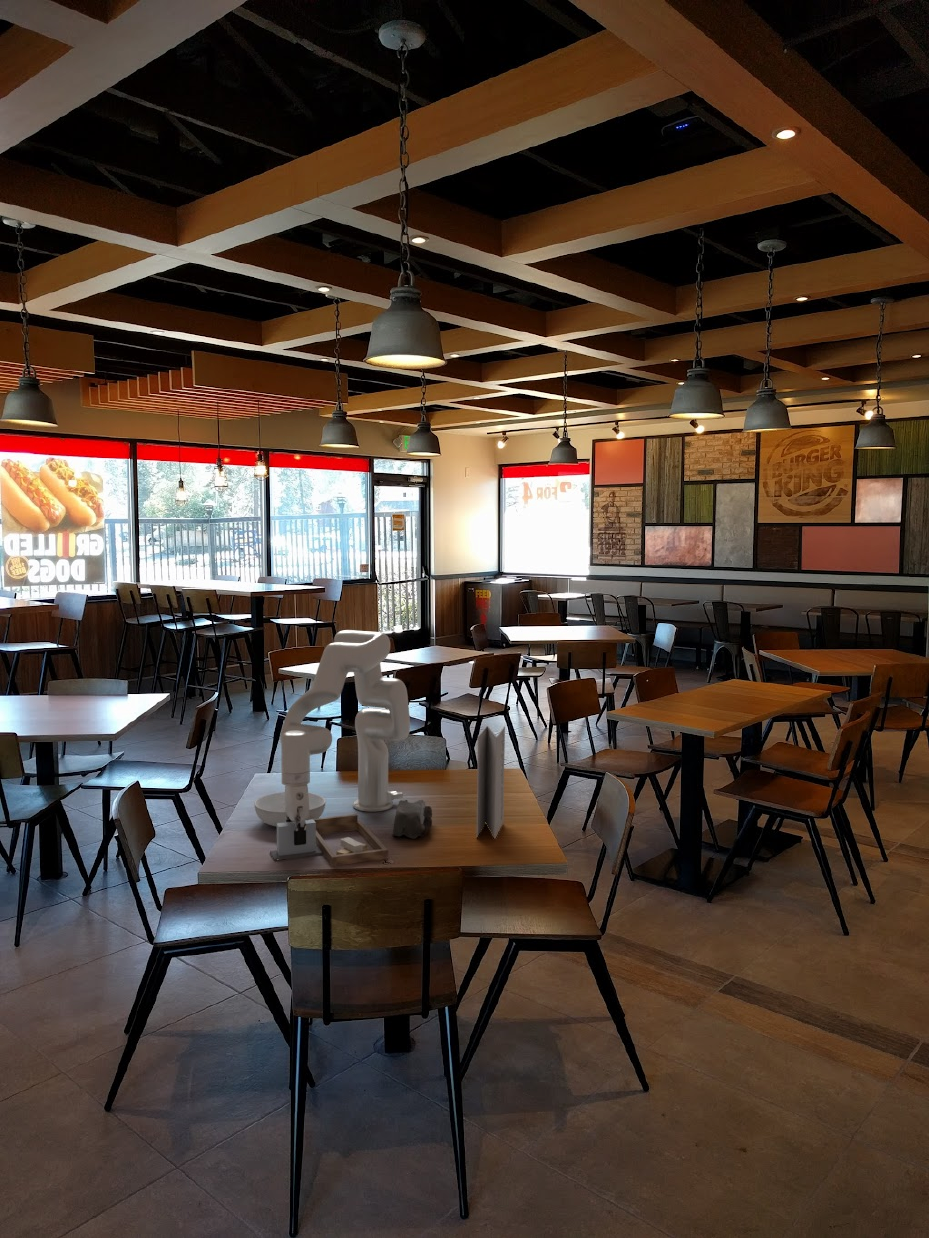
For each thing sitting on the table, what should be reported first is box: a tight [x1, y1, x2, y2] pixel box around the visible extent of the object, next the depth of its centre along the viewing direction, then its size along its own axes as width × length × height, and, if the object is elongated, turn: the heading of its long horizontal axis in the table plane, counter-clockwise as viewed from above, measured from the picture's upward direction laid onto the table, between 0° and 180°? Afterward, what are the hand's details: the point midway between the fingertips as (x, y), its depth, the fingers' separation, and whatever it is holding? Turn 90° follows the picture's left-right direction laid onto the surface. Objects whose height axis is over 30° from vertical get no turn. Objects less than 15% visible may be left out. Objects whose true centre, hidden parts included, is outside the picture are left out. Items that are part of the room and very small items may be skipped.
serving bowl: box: [253, 791, 326, 828], centre depth 271 cm, size 21×21×7 cm
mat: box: [269, 845, 323, 861], centre depth 246 cm, size 13×6×1 cm, turn 113°
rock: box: [392, 799, 433, 840], centre depth 265 cm, size 18×11×8 cm, turn 0°
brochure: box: [475, 725, 506, 839], centre depth 265 cm, size 14×6×30 cm, turn 168°
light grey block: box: [276, 819, 316, 856], centre depth 246 cm, size 10×3×8 cm, turn 113°
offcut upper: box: [340, 836, 364, 853], centre depth 247 cm, size 7×3×2 cm, turn 40°
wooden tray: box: [313, 813, 389, 867], centre depth 253 cm, size 15×26×4 cm, turn 23°
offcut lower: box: [336, 841, 368, 855], centre depth 247 cm, size 9×3×2 cm, turn 145°
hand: (296, 838), depth 246 cm, fingers open, 9 cm apart
